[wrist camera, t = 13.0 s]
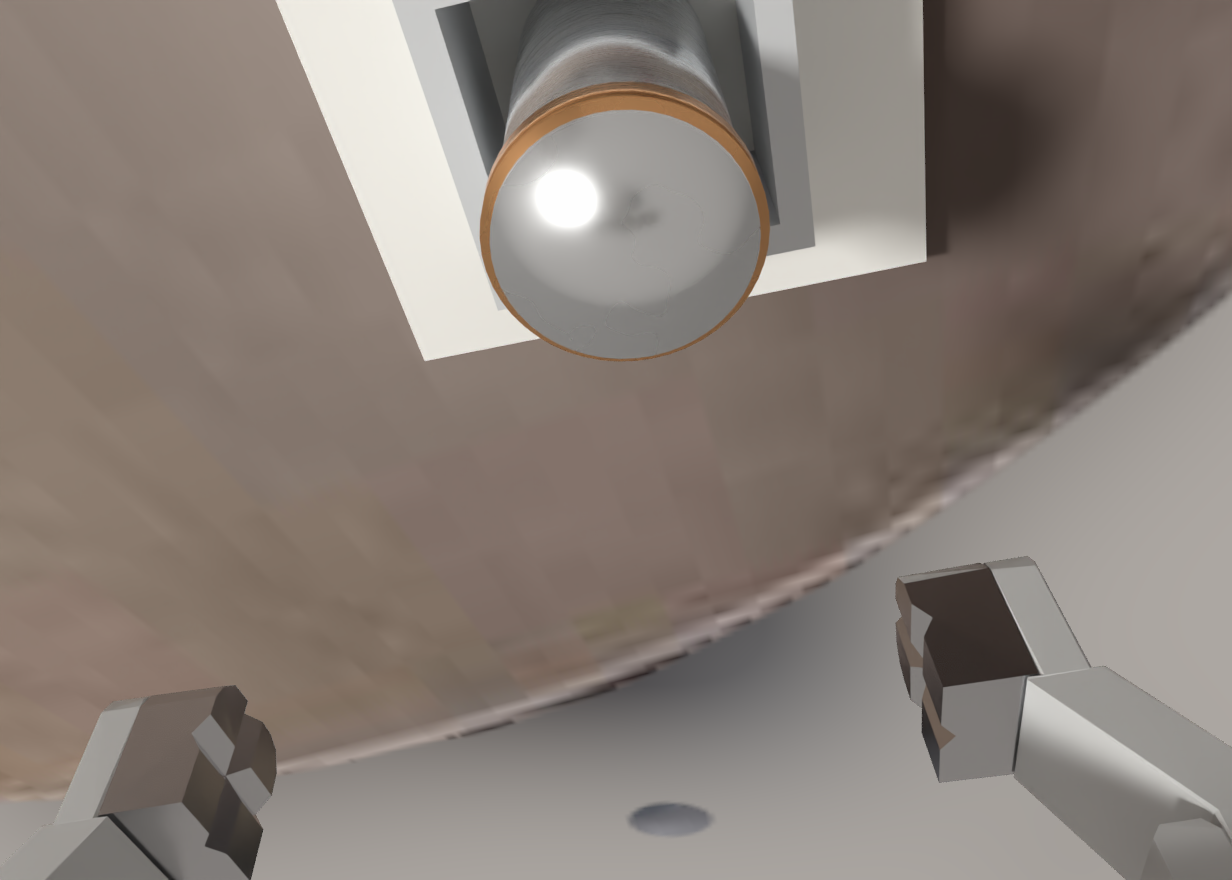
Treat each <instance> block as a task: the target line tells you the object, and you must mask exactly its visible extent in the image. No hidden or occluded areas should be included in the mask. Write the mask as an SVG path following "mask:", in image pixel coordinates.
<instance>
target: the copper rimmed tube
mask: <svg viewBox="0 0 1232 880" xmlns="http://www.w3.org/2000/svg"><path fill="white" fill-rule="evenodd" d="M769 235H770V219H769V209H768V204H767V199H766V194H765V191H764V188H763V185H762V182H761V179H760V176H759V173H758V171H757V168H756V165H755V162H754V160H753V158H752V156H751V154H750V152H749V150H748V148H747V147H746V145H745V143H744V142H743V140H742V139H741V138H740V136H739V135H738V134H737V132H736V131H735V130H734V129H733V125H732V122H731V119H730V116H729V112H728V109H727V106H726V103H725V99H724V96H723V93H722V90H721V86H720V83H719V80H718V76H717V73H716V70H715V67H714V63H713V60H712V57H711V54H710V50H709V47H708V44H707V41H706V37H705V34H704V31H703V28H702V25H701V23H700V20H699V18H698V16H697V14H696V12H695V10H694V8H693V7H692V5H691V4H690V2H689V1H688V0H538V1H537V2H536V4H535V5H534V7H533V8H532V10H531V11H530V13H529V15H528V17H527V20H526V22H525V24H524V27H523V30H522V33H521V36H520V42H519V48H518V54H517V60H516V66H515V73H514V79H513V85H512V92H511V98H510V104H509V111H508V117H507V123H506V130H505V136H504V142H503V147H502V149H501V150H500V152H499V154H498V156H497V158H496V160H495V162H494V164H493V166H492V168H491V171H490V174H489V177H488V181H487V184H486V189H485V195H484V200H483V206H482V212H481V218H480V246H481V254H482V258H483V262H484V266H485V269H486V272H487V275H488V277H489V279H490V282H491V284H492V287H493V288H494V290H495V292H496V293H497V295H498V297H499V298H500V300H501V302H502V303H503V304H504V305H505V307H506V308H507V309H508V310H509V312H510V313H511V314H512V315H513V316H514V317H515V318H516V319H517V320H518V321H519V322H520V323H521V324H522V325H523V326H524V327H526V328H527V329H528V330H530V331H531V332H532V333H534V334H535V335H536V336H538V337H539V338H541V339H543V340H544V341H546V342H548V343H550V344H551V345H553V346H556V347H558V348H560V349H562V350H565V351H567V352H570V353H573V354H577V355H580V356H583V357H588V358H593V359H598V360H607V361H638V360H645V359H652V358H656V357H660V356H664V355H668V354H671V353H674V352H677V351H679V350H682V349H685V348H687V347H689V346H691V345H693V344H695V343H697V342H699V341H701V340H702V339H704V338H705V337H707V336H709V335H710V334H712V333H713V332H715V331H716V330H717V329H718V328H720V327H721V326H722V325H723V324H724V323H726V322H727V321H728V320H729V319H730V318H731V317H732V316H733V315H734V314H735V313H736V312H737V310H738V309H739V308H740V307H741V306H742V304H743V303H744V302H745V300H746V299H747V298H748V296H749V295H750V293H751V292H752V290H753V288H754V286H755V284H756V282H757V281H758V279H759V276H760V274H761V271H762V268H763V266H764V263H765V259H766V255H767V251H768V246H769Z"/></svg>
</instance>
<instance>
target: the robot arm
mask: <svg viewBox="0 0 1232 880" xmlns="http://www.w3.org/2000/svg"><path fill="white" fill-rule="evenodd" d="M896 601H897V604H898V607H899V610H900V612H901V615H902V617H901V618H900V619H899V620H898V621H897V622H896V642H897V649H898V655H899V662H900V666H901V670H902V674H903V677H904V681H905V684H906V687H907V691H908V694H909V697H910V700H911V701H913V702H914V703H916V704H917V705H918V706H919V707H921V708H922V735H923V738H924V741H925V744H926V747H927V749H928V752H929V755H930V758H931V761H932V764H933V766H934V769H935V772H936V775H937V778H938V781H939V783H941V782H949V781H958V780H966V779H974V778H982V777H992V776H1000V775H1009V774H1014V778H1015V779H1016V780H1017V781H1018V782H1019V783H1020V784H1021V785H1023V786H1024V787H1025V788H1026V789H1027V790H1028V791H1029V792H1030V793H1031V794H1033V795H1034V796H1035V797H1036V798H1037V799H1038V800H1039V801H1040V802H1041V803H1042V804H1044V805H1045V806H1046V807H1047V808H1048V809H1049V810H1050V811H1051V812H1052V813H1053V814H1054V815H1055V816H1057V817H1058V818H1059V819H1060V820H1061V821H1062V822H1063V823H1064V824H1065V825H1067V826H1068V827H1069V828H1070V829H1071V830H1072V831H1073V832H1074V833H1075V834H1076V835H1077V836H1079V837H1080V838H1081V839H1082V840H1083V841H1084V842H1085V843H1086V844H1087V845H1088V846H1090V847H1091V848H1092V849H1093V850H1094V851H1095V852H1096V853H1097V854H1098V855H1099V856H1101V857H1102V858H1103V859H1104V860H1105V861H1106V862H1107V863H1108V864H1109V865H1110V866H1112V867H1113V868H1114V869H1115V870H1116V871H1117V872H1118V873H1119V874H1120V875H1121V876H1122V877H1123V878H1125V879H1126V880H1232V747H1231V746H1229V745H1227V744H1226V743H1224V742H1223V741H1221V740H1220V739H1218V738H1217V737H1215V736H1213V735H1212V734H1210V733H1209V732H1207V731H1206V730H1204V729H1203V728H1201V727H1199V726H1198V725H1196V724H1195V723H1193V722H1192V721H1190V720H1189V719H1187V718H1185V717H1184V716H1182V715H1181V714H1179V713H1178V712H1176V711H1174V710H1173V709H1171V708H1170V707H1168V706H1167V705H1165V704H1164V703H1162V702H1161V701H1159V700H1157V699H1156V698H1154V697H1153V696H1151V695H1150V694H1148V693H1147V692H1145V691H1143V690H1142V689H1140V688H1139V687H1137V686H1136V685H1134V684H1132V683H1131V682H1129V681H1128V680H1126V679H1125V678H1123V677H1121V676H1120V675H1118V674H1117V673H1115V672H1114V671H1112V670H1111V669H1109V668H1108V667H1106V666H1100V667H1091V666H1090V664H1089V662H1088V660H1087V658H1086V656H1085V654H1084V652H1083V650H1082V649H1081V647H1080V645H1079V644H1078V641H1077V639H1076V637H1075V636H1074V634H1073V632H1072V630H1071V628H1070V626H1069V624H1068V622H1067V621H1066V619H1065V617H1064V615H1063V613H1062V611H1061V609H1060V607H1059V606H1058V604H1057V602H1056V600H1055V598H1054V596H1053V594H1052V592H1051V591H1050V589H1049V587H1048V585H1047V583H1046V581H1045V579H1044V578H1043V576H1042V574H1041V572H1040V570H1039V568H1038V566H1037V565H1036V563H1035V561H1033V560H1032V559H1031V558H1030V557H1028V556H1024V557H1018V558H1011V559H1006V560H999V561H993V562H987V563H984V564H981V563H976V564H970V565H964V566H959V567H953V568H947V569H942V570H936V571H930V572H925V573H919V574H912V575H907V576H901V577H898V578H897V581H896ZM247 702H248V701H247V699H246V698H245V697H244V695H243V694H242V693H241V692H240V690H239V689H238V688H237V687H236V685H232V686H221V687H214V688H206V689H199V690H191V691H184V692H176V693H169V694H161V695H154V696H148V697H141V698H134V699H127V700H120V701H114V702H112V703H111V704H110V705H109V706H108V707H107V708H106V709H105V710H104V711H103V712H102V713H101V715H100V717H99V719H98V722H97V724H96V726H95V729H94V731H93V733H92V735H91V738H90V740H89V742H88V745H87V747H86V749H85V752H84V754H83V756H82V759H81V761H80V763H79V766H78V768H77V770H76V773H75V775H74V777H73V780H72V782H71V784H70V786H69V789H68V791H67V793H66V796H65V798H64V800H63V803H62V805H61V807H60V810H59V812H58V814H57V817H56V819H55V821H54V824H50V825H44V826H41V827H40V828H39V829H38V830H37V831H36V832H35V833H34V834H33V835H32V836H31V837H30V838H29V839H28V840H27V841H26V842H25V843H24V844H23V845H22V846H21V847H20V848H19V849H18V850H17V851H16V852H15V853H14V854H12V856H10V857H9V858H8V859H7V860H6V861H5V862H4V863H3V864H2V865H1V866H0V880H251V877H252V873H253V868H254V865H255V861H256V857H257V853H258V848H259V845H260V841H261V837H262V833H263V828H262V826H261V824H260V822H259V820H258V818H257V817H256V813H257V812H258V811H259V810H260V809H261V808H262V806H263V805H264V804H265V803H266V802H267V801H268V799H269V798H270V797H271V796H272V792H273V788H274V783H275V779H276V774H277V770H276V749H275V746H274V743H273V740H272V737H271V734H270V732H269V731H268V729H267V728H266V726H265V725H264V723H263V722H261V721H259V720H257V719H255V718H253V717H250V716H248V715H246V714H244V713H245V709H246V706H247Z"/></svg>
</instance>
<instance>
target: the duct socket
mask: <svg viewBox="0 0 1232 880" xmlns="http://www.w3.org/2000/svg"><path fill="white" fill-rule="evenodd" d="M537 1H538V0H276V2H277V5H278V7H279V10H280V12H281V14H282V17H283V19H284V22H285V24H286V26H287V29H288V31H289V34H290V36H291V39H292V41H293V43H294V46H295V48H296V51H297V53H298V56H299V58H300V60H301V63H302V65H303V68H304V70H305V72H306V75H307V77H308V80H309V82H310V85H311V87H312V89H313V92H314V94H315V97H316V99H317V101H318V104H319V106H320V109H321V111H322V114H323V116H324V118H325V121H326V123H327V126H328V128H329V131H330V133H331V135H332V138H333V140H334V143H335V145H336V147H337V150H338V152H339V155H340V157H341V160H342V162H343V164H344V167H345V169H346V172H347V174H348V176H349V179H350V181H351V184H352V186H353V189H354V191H355V193H356V196H357V198H358V201H359V203H360V206H361V208H362V210H363V213H364V215H365V218H366V220H367V222H368V225H369V227H370V230H371V232H372V235H373V237H374V239H375V242H376V244H377V247H378V249H379V251H380V254H381V256H382V259H383V261H384V264H385V266H386V268H387V271H388V273H389V276H390V278H391V281H392V283H393V285H394V288H395V290H396V293H397V295H398V297H399V300H400V302H401V305H402V307H403V310H404V312H405V314H406V317H407V319H408V322H409V324H410V327H411V329H412V331H413V334H414V336H415V339H416V341H417V343H418V346H419V348H420V351H421V353H422V356H423V358H424V360H425V361H428V360H433V359H438V358H443V357H448V356H453V355H458V354H463V353H468V352H473V351H478V350H483V349H488V348H493V347H498V346H503V345H508V344H513V343H518V342H523V341H528V340H534V339H539V337H538V336H536V335H535V334H534V333H532V332H531V331H530V330H528V329H527V328H526V327H524V326H523V325H522V324H521V323H520V322H519V321H518V320H517V319H516V318H515V317H514V316H513V315H512V314H511V313H510V312H509V310H508V309H507V308H506V307H505V305H504V304H503V303H502V302H501V300H500V298H499V297H498V295H497V293H496V292H495V290H494V288H493V287H492V284H491V282H490V279H489V277H488V275H487V272H486V269H485V266H484V262H483V258H482V254H481V246H480V218H481V212H482V206H483V200H484V195H485V189H486V184H487V181H488V177H489V174H490V171H491V168H492V166H493V164H494V162H495V160H496V158H497V156H498V154H499V152H500V150H501V149H502V147H503V142H504V136H505V130H506V123H507V117H508V111H509V104H510V98H511V92H512V85H513V79H514V73H515V66H516V60H517V54H518V48H519V42H520V36H521V33H522V30H523V27H524V24H525V22H526V20H527V17H528V15H529V13H530V11H531V10H532V8H533V7H534V5H535V4H536V2H537ZM688 1H689V2H690V4H691V5H692V7H693V8H694V10H695V12H696V14H697V16H698V18H699V20H700V23H701V25H702V28H703V31H704V34H705V37H706V41H707V44H708V47H709V50H710V54H711V57H712V60H713V63H714V67H715V70H716V73H717V76H718V80H719V83H720V86H721V90H722V93H723V96H724V99H725V103H726V106H727V109H728V112H729V116H730V119H731V122H732V125H733V129H734V130H735V131H736V132H737V134H738V135H739V136H740V138H741V139H742V140H743V142H744V143H745V145H746V147H747V148H748V150H749V152H750V154H751V156H752V158H753V160H754V162H755V165H756V168H757V171H758V173H759V176H760V179H761V182H762V185H763V188H764V191H765V194H766V199H767V204H768V209H769V219H770V235H769V246H768V251H767V255H766V259H765V263H764V266H763V268H762V271H761V274H760V276H759V279H758V281H757V282H756V284H755V286H754V288H753V290H752V292H751V293H750V295H749V296H748V297H750V296H755V295H760V294H765V293H770V292H775V291H780V290H785V289H790V288H795V287H800V286H805V285H810V284H815V283H820V282H825V281H830V280H835V279H840V278H845V277H850V276H855V275H860V274H865V273H870V272H875V271H880V270H885V269H890V268H896V267H901V266H906V265H911V264H916V263H921V262H926V199H925V129H924V60H923V0H688Z"/></svg>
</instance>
